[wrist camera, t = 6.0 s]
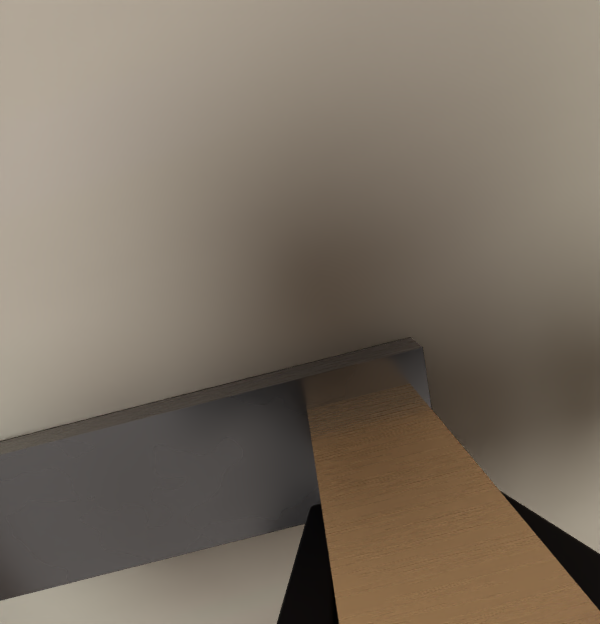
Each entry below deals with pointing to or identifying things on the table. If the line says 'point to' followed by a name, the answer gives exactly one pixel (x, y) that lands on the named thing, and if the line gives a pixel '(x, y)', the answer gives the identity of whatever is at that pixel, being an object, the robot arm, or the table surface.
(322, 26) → the table surface
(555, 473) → the table surface
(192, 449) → the try square
